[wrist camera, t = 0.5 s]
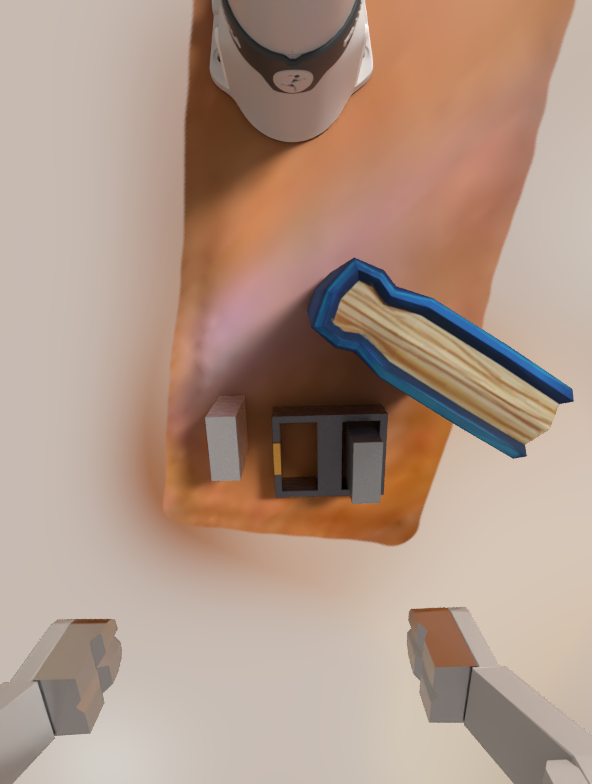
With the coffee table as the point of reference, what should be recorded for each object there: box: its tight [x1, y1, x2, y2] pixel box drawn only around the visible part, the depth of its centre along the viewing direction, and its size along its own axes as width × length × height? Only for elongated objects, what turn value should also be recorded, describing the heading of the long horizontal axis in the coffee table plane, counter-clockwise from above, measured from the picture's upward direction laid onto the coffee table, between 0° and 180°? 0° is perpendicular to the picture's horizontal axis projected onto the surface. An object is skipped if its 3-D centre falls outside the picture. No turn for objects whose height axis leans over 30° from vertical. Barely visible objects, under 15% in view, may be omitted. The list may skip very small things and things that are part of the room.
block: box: [205, 395, 248, 481], centre depth 50 cm, size 9×4×9 cm, turn 1°
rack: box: [272, 405, 388, 504], centre depth 51 cm, size 13×16×9 cm
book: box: [307, 258, 574, 459], centre depth 38 cm, size 22×7×25 cm, turn 59°
